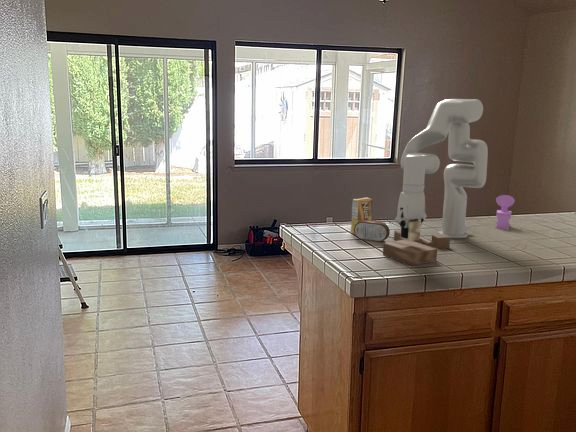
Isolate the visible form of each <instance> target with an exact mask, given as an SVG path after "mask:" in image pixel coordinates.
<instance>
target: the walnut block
mask: <svg viewBox="0 0 576 432" xmlns="http://www.w3.org/2000/svg"><path fill="white" fill-rule="evenodd" d="M382 245H383V247H382V255H383V256H386V257H388V256H389V257H388V258H391V257H392V258H391V259H394V260H396V259H397V261H399V262H402V263H404V262H405V264H408V265H410V266H416V265H415V264H417V265H422V264H421V263H423V264H427V263H426V262H428V263H433V262H432V261H434V262H437V257H438V248H436V247H434V248H433V247H430V246H427V245H424V244H420V243H417V242H414V241H407V240H399V241H397V240H394V241H387V242H383V243H382Z"/></svg>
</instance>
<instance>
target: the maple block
mask: <svg viewBox="0 0 576 432" xmlns="http://www.w3.org/2000/svg"><path fill="white" fill-rule="evenodd" d="M404 223H405V221H404ZM421 227H422V225H421V221H418V220H409V223H408V226H407V228H408V238H407V239H406V238H402V237H401V236H400V238H401V239H404V240H407V241H415V240H420V236H421Z"/></svg>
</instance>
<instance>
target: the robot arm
mask: <svg viewBox="0 0 576 432" xmlns="http://www.w3.org/2000/svg"><path fill="white" fill-rule="evenodd" d="M483 113H484V105H483V103H482V101H481V100H480V99H476V98H472V99H471V98H467V99H466V98H448V99H447V98H446V99H444V100H443V99H442V100H441V101H439V102H438V103H436V105H435V107H434V108H433V111H432V113H431V116H430V118H429V120H428V122H427V125H426V127H425V129H423V130H422V131H420V132H419V133H418V134H416V135H415V136H413V137H412V138H411V139H409V141H408V142H407V144H406V145H405V148H404V149H403V152H402V155H401V158H400V168H401V169H402V170H403V177H402V179H403V181H402V191H401V192H400V194H399V198H398V202H397V203H398V204H397V210H396V217H395V219H394V220H395V221H396V222H397V223H398V225H399V227H400V230H401V237H402V238H406V239H407V238H408V228H407V226H408V223H409V220H418V221H421V226H422V225H423V224H422V223H423V222H424V221H425V219H426V218H427V216H428V215H427V214H426V196H425V192H424V191H425V187H426V186H425V177H426V176H425V175H426V174H427V175H431V174H434V173H436V172H437V171H438V170H439V168H440V166H441V160H440V158H439V156H437V155H436V154H434V153H429V152H428V153H427V152H426V153H425V152H419V151H421V150H422V149H424V148H426V147H430V146H433V145H437V144H439V143H442V142H444V141H445V140H446V139H447V137H448V141H447V142H448V143H447V147H448V151H447V154H448V158H449V159H450V160H452V161H453V162H454V161H455V162H464V163H465V164H464V163H451V164H447V165H446V166H445V168H444V170H443V180H444V181H443V182H444V196H443V207H442V209H443V210H442V223H441V229H440V230H438V231H437V233H438V234H441V235H445V236H448V237H450V239H465V238H468V235H469V234H468V232H467V231H470V230H471V229H472V225H466V216H467V203H468V194H467V192H466V191H465V188H472V189H473V188H474V189H481V188H483V187H484V186H485V184H486V182H487V175H488V172H487V171H488V157H489V156H488V154H489V153H488V152H489V150H488V149H489V148H488V144H487V143H486V142H485V141H484V140H481V139H472V138H470V137H471V134H470V133H471V131H470V130H471V127H470V123H474V122H477V121H478V120H480V119H481V118H482V116H483ZM467 163H472V164H467ZM404 221H405V223H404Z"/></svg>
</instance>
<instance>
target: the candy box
mask: <svg viewBox="0 0 576 432" xmlns="http://www.w3.org/2000/svg"><path fill="white" fill-rule="evenodd" d="M372 212H373V198H370V197H361V198H353V199H352V205H351V223H350V224H351V225H350V227H351V228H350V233H351V234H354V235H355V233H354V226H355V225H356V224H357V222H358V221H360V220H370V221H372Z"/></svg>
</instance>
